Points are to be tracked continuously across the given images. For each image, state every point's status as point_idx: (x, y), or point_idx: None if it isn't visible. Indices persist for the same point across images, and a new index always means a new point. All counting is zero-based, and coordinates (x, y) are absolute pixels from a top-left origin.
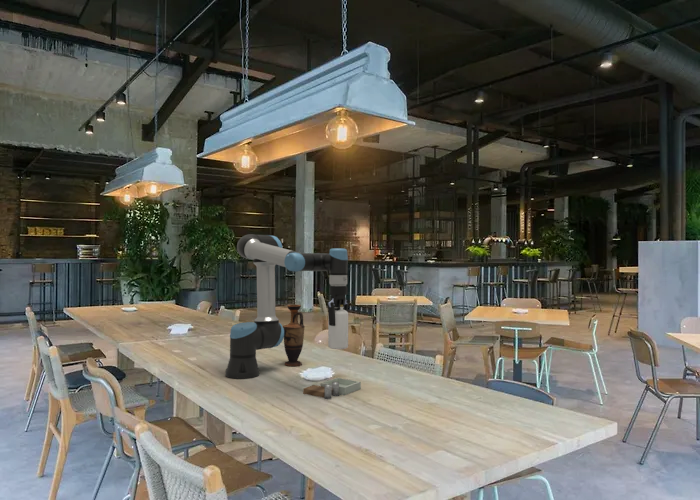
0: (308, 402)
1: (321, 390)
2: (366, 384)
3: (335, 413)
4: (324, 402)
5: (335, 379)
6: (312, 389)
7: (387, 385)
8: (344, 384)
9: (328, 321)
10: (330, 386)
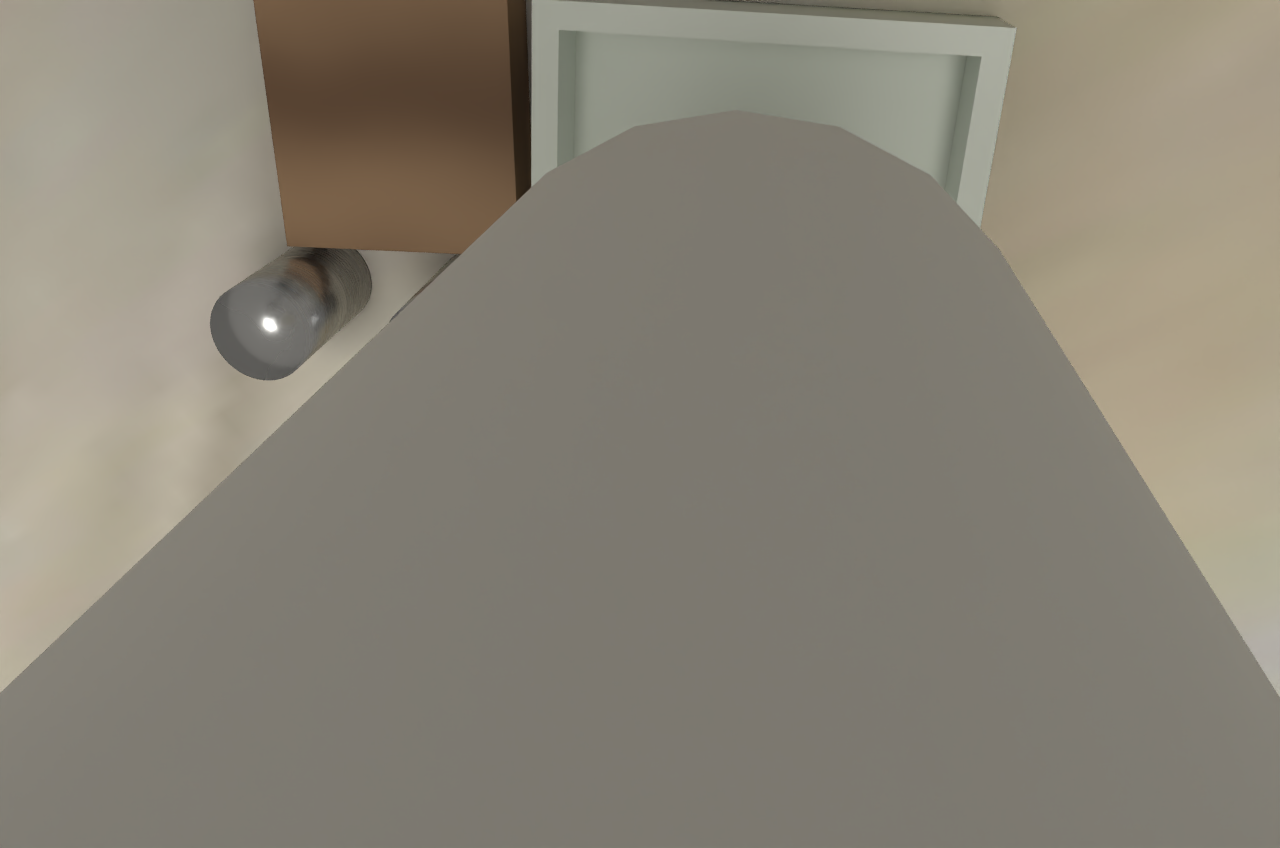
0: (51, 179)
1: (333, 166)
2: (1208, 386)
3: (12, 578)
4: (180, 331)
5: (913, 50)
6: (287, 27)
7: (1273, 626)
8: (948, 180)
9: (88, 613)
10: (256, 375)
